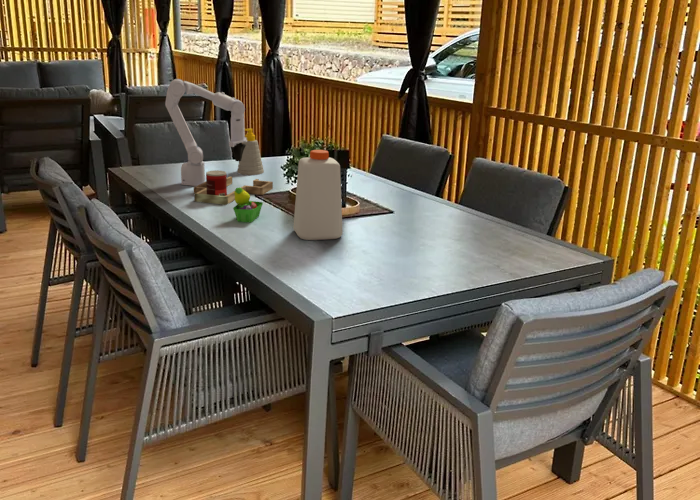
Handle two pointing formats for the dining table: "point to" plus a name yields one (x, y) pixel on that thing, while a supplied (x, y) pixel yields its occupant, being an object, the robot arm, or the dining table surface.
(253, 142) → the soap bottle
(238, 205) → the fruit basket
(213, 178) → the canned food
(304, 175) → the plastic bottle
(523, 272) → the dining table surface
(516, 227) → the dining table surface
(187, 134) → the robot arm
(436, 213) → the dining table surface
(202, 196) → the trap channel
